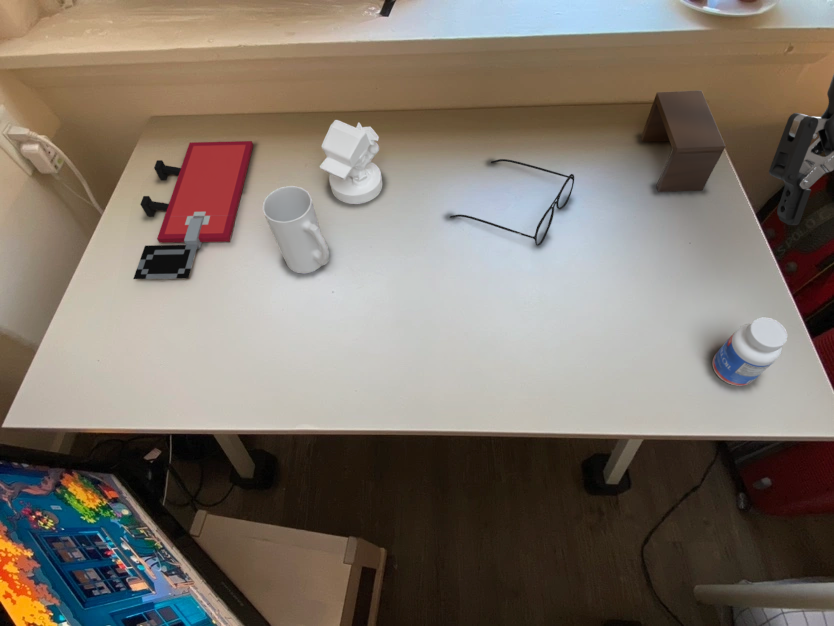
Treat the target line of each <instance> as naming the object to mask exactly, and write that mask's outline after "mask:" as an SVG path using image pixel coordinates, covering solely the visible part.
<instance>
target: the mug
mask: <svg viewBox="0 0 834 626" xmlns="http://www.w3.org/2000/svg"><path fill="white" fill-rule="evenodd" d="M262 212H263V214H264V216H265V217H264V218H265V219H266V222H267V224H268V226H269V228H270V232H271V233H272V235H273V237H274V240H275V241H276V244H277V247H278V248H279V251H280V253H281V255H282V257H283V259H284V261H285V263H286V266H287V267H288V268H289V270H291V271H293V272H294V273H296V274H297V273H298V274H310V273H314V272H315V271H317V270H319V269H320V268H321V267H322V266H325V265H327V264H328V263H329V261H330V249H329V247H328V244H327V242H326V240H325V238H324V235H323V233H322V232H321V228H320V224H319V221H318V217H317V213H316V209H315V205H314V203H313V198H312V196H311V194H310V193H309V191H308V190H306V189H305V188H303V187H301V186H296V185H285V186H281V187H278V188H276V189H274V190H272V191H271V192H270V193H268V195H267V196H266V197H265V198H264V200H263V202H262Z"/></svg>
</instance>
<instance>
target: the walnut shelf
mask: <svg viewBox="0 0 834 626" xmlns="http://www.w3.org/2000/svg"><path fill="white" fill-rule="evenodd" d="M640 139H641V142H642V143H643V142H644V143H645V142H666V141H667V142H668V141H669V143H670V146H671V149H672V150H671V152H670V154H669V156H668V159H667V161H666V164H665V166H664V168H663V170H662V173H661V175H660V178H659V180H658V182H657V185H656V190H657V193H668V192H695V191H696V192H697V191H698V192H699V191H703V190H704V189H705V186H706V185H707V183H708V181H709V179H710V177H711V175H712V173H713V171H714V170H715V167H716V166H717V164H718V162H719V161H720V158H721V156H722V155H723V152H724V150H725V148H726V147H727V146H726V144H725V142H724V139H723V137H722V135H721V132H720V130H719V128H718V125H717V123H716V120H715V118H714V115H713V114H712V111H711V109H710V106H709V104H708V102H707V100H706V98H705V95H704V93H703V90H700V89H699V90H677V91H676V90H675V91H657V92H656V94H655V96H654V100H653V102H652V105H651V108H650V110H649V113H648V116H647V119H646V122H645V123H644V127H643V130H642V133H641V135H640Z"/></svg>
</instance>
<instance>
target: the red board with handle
mask: <svg viewBox="0 0 834 626" xmlns="http://www.w3.org/2000/svg"><path fill="white" fill-rule="evenodd" d="M253 148H254V143H253V140H242V141H241V140H237V141H235V140H233V141H195V142H189V143H188V146H187V149H186V153H185V155H184V158H183V161H182V163H181V167H177V166H172V165H166V164H165V162H164V161H163V159H157V160H156V161H155V164H154V168H153V169H154V171H155V172H156V174H157V176H158V178H159V179H160V181H167V180H168V177H169V175H173V176H177V179H176V181H175V185H174V187H173V190H172V193H171V196H170V199H169V203H167V202H160V201H153V200H152V198H151V197H150V195H143V196H142V199H141V202H140V204H139V205H140V206H141V209H142V210H143V212H144V213H145V214H146V217H154V216H155V213H156V211H161V212H165V214H164V217H163V220H162V222H161V226H160V228H159V231H158V235H157V238H156V239H157V241H158V243H161V244H159V245H157V244H153V245H150V244H149V245H144V247H143V251H142V253H141V256H140V259H139V261H138V263H137V267H136V270H135V273H134V276H133V278H132V280H170V279H171V280H173V279H174V280H175V279H176V280H177V279H178V280H179V279H181V280H182V279H189V278H190V273H191V270H192V267H193V264H194V261H195V257H196V253H197V250H198V249H199V250H200V249H201V247H202V243H219V242H220V243H222V242H223V243H225V242H228V243H229V242H230V241H231V238H232V234H233V230H234V226H235V221H236V218H237V214H238V209H239V207H240V201H241V199H242V198H241V197H242V193H243V189H244V185H245V182H246V176H247V173H248V168H249V165H250V161H251V158H252V157H251V155H252V152H253ZM162 243H163V244H162ZM164 243H167V244H164ZM168 243H169V244H168ZM170 243H171V244H170ZM172 243H185V244H172Z"/></svg>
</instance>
